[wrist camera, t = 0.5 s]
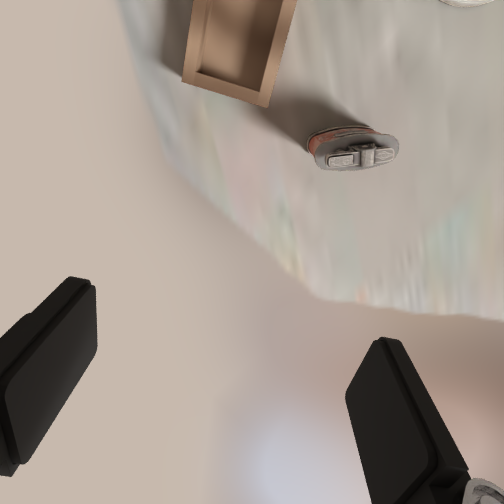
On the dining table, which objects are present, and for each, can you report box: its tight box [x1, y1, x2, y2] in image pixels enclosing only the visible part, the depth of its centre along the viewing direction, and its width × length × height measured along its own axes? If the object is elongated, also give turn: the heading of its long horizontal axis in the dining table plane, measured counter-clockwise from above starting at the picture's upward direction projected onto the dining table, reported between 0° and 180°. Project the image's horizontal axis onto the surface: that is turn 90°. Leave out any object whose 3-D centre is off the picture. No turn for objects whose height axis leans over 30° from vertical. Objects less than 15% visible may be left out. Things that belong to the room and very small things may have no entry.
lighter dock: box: [182, 0, 297, 108], centre depth 30 cm, size 13×9×4 cm
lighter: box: [306, 125, 399, 171], centre depth 33 cm, size 8×3×10 cm, turn 97°
